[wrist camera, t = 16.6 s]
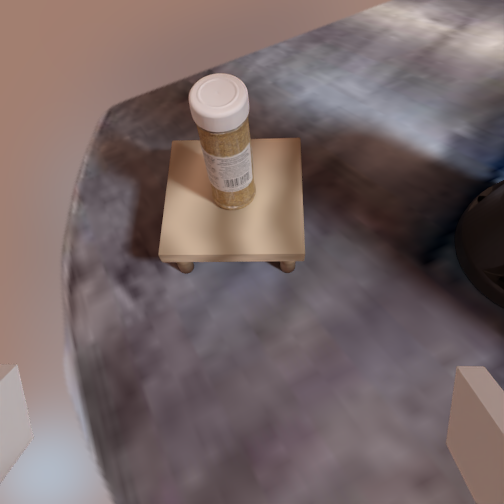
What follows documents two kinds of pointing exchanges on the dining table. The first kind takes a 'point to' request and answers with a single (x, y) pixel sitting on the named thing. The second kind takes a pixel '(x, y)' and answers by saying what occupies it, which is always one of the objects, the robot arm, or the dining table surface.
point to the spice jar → (225, 138)
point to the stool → (234, 221)
